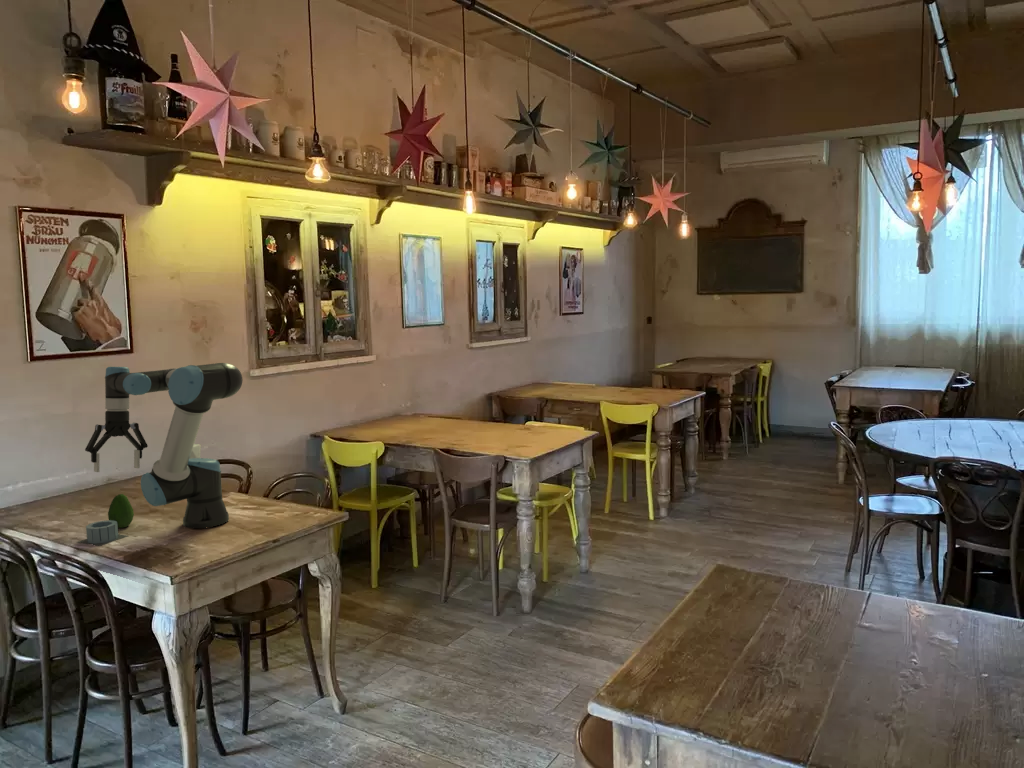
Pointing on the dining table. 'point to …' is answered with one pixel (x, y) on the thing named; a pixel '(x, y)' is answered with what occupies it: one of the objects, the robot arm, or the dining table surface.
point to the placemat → (102, 543)
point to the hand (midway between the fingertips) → (117, 469)
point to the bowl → (102, 531)
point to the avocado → (121, 511)
